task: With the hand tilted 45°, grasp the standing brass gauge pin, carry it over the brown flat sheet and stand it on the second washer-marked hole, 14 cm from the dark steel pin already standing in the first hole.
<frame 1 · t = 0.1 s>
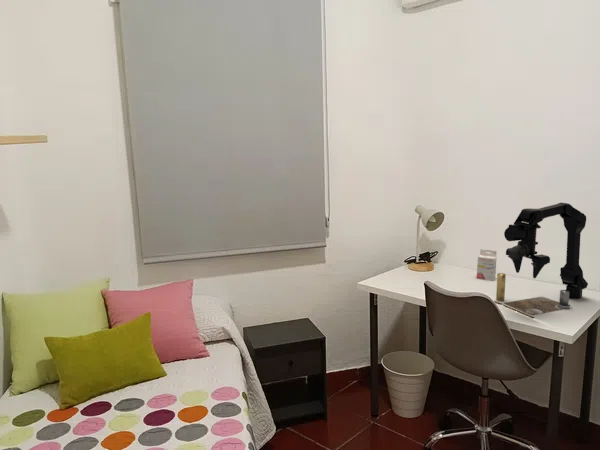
hand: (525, 275, 206), 15 cm above the table, tool pointing down, fingers open, 9 cm apart
ink cartridge box: (486, 278, 253), on the table
brown flat sheet: (537, 308, 208), on the table
fixed pin: (563, 307, 205), resting on brown flat sheet
brass pin: (500, 302, 216), on the table
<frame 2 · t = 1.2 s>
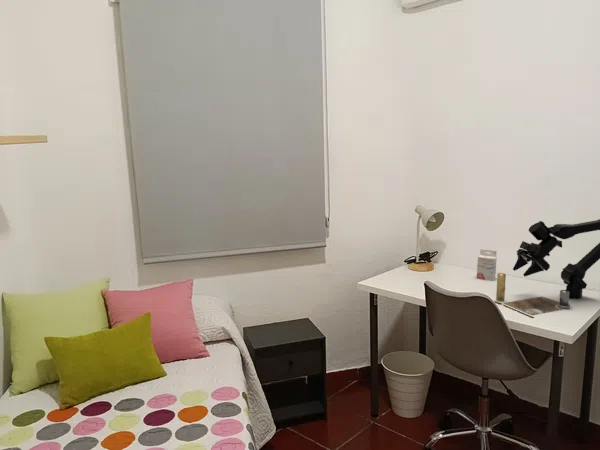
hand: (518, 272, 214), 13 cm above the table, tool tilted 45°, fingers open, 9 cm apart
nothing on the table moved.
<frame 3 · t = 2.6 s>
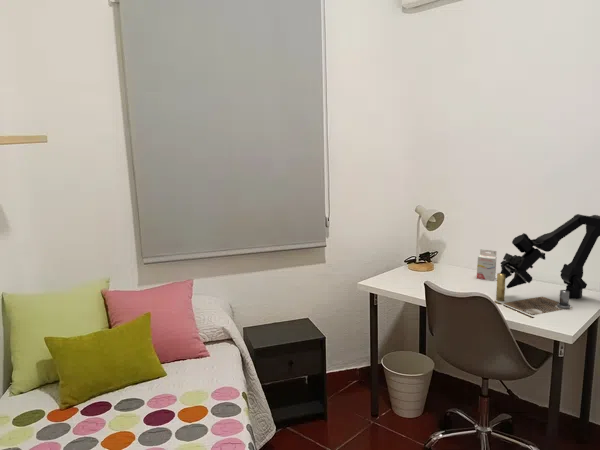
hand: (501, 284, 215), 8 cm above the table, tool tilted 45°, fingers open, 9 cm apart
nothing on the table moved.
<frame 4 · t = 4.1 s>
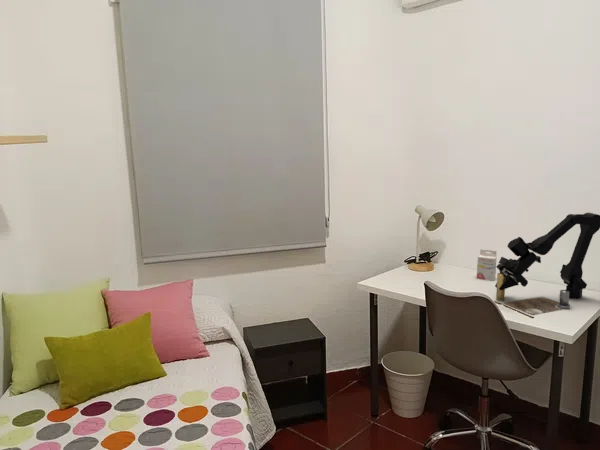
hand: (497, 288, 215), 7 cm above the table, tool tilted 45°, fingers closed on brass pin, 3 cm apart
brass pin: (500, 302, 216), on the table, touching gripper
everything else where it was.
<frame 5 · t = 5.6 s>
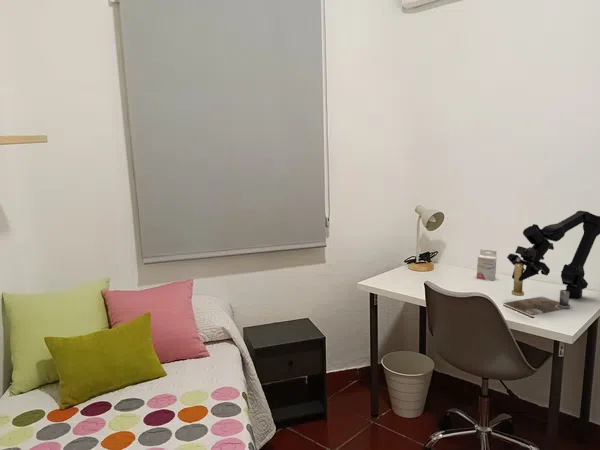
hand: (516, 279, 204), 13 cm above the table, tool tilted 45°, fingers closed on brass pin, 3 cm apart
brass pin: (517, 294, 206), point 7 cm above the table, touching gripper
everything else where it was.
when the fingers open (9 cm above the table, at t = 7.4 s): brass pin drops 1 cm, resting on brown flat sheet.
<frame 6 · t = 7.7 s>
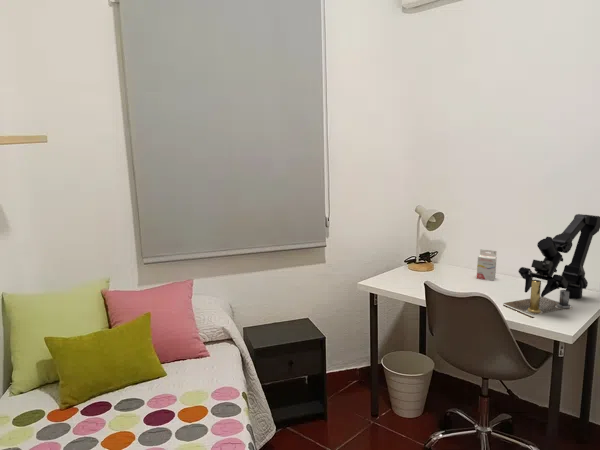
hand: (533, 294, 199), 9 cm above the table, tool tilted 45°, fingers open, 7 cm apart
brass pin: (534, 311, 201), point 1 cm above the table, touching brown flat sheet
everything else where it was.
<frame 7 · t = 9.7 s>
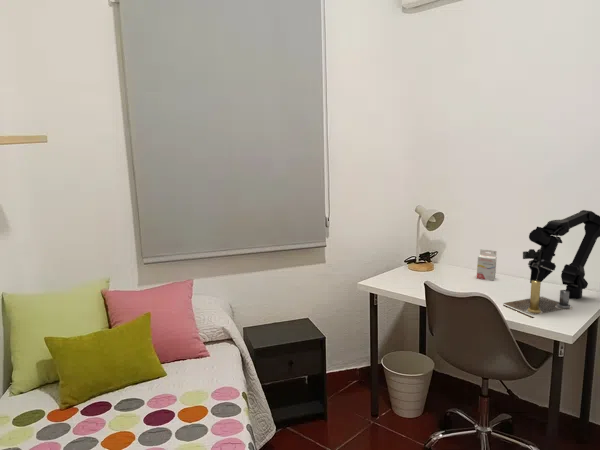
hand: (534, 283, 206), 11 cm above the table, tool tilted 25°, fingers open, 9 cm apart
nothing on the table moved.
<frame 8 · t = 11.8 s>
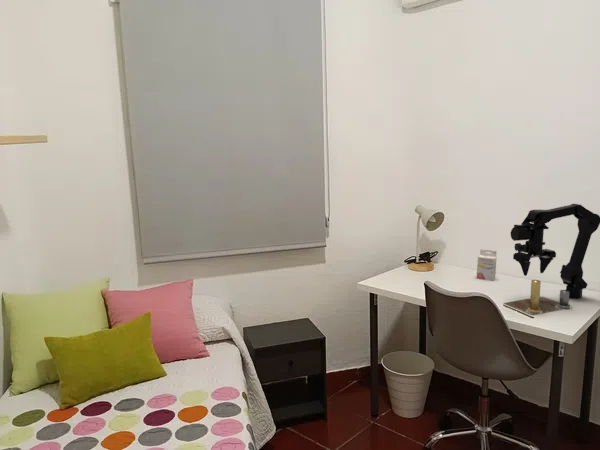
hand: (533, 274, 212), 13 cm above the table, tool pointing down, fingers open, 9 cm apart
nothing on the table moved.
at the end: brass pin 0.0 cm from the target spot, point 1.3 cm above the table; brass pin tilted 0°; the gripper is holding nothing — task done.
